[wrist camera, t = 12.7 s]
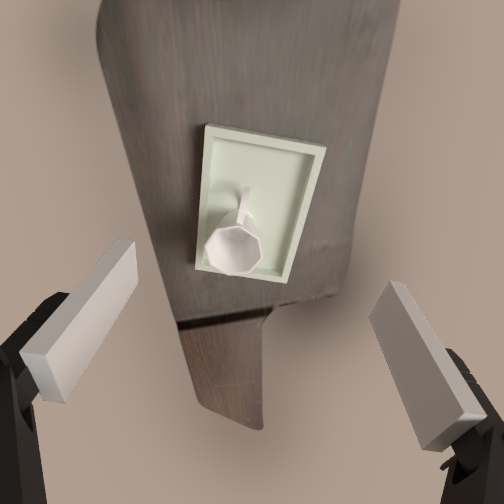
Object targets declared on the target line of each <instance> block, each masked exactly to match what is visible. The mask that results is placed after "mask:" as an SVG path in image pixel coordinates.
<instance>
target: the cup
mask: <svg viewBox="0 0 504 504" xmlns="http://www.w3.org/2000/svg"><path fill="white" fill-rule="evenodd" d="M249 192H250V187H246V186H244V188H243V193H242V197H241V202H240V207H239V209H234V210H230V211H229V212H228V214H227V215H226V216H224V218H223V219H222V221H221V222H220V223H219V225H218V226H217V228H216V229H215V231H214V232H213V234H212V235H211V236H210V238H209V239H208V241H207V242H206V243H205V245H204V248H205V251H206V254H207V258H208V261H209V264H210V265H211V266H212V267H214V268H216V269H218V270H219V271H221V272H223V273H225V274H226V275H228V276H230V275H238V274H246V273H251V271H252V270H253V269H254V268H255V267H256V266H257V264H258V263H259V262H260V261H261V260H262V259H263V255H262V250H261V244H260V239H259V235H258V231H257V228H256V224H255V222H254V220H253V217H252V214H250V213H249V212H247V211H246V208H247V203H248V198H249Z"/></svg>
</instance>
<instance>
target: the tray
mask: <svg viewBox="0 0 504 504" xmlns="http://www.w3.org/2000/svg"><path fill="white" fill-rule="evenodd" d="M325 151H326V147H325V146H324V145H323V144H321V143H316V142H311V141H305V140H300V139H294V138H289V137H284V136H278V135H273V134H267V133H262V132H257V131H251V130H246V129H240V128H235V127H230V126H224V125H219V124H214V123H208V124H207V125H205V137H204V151H203V165H202V179H201V193H200V207H199V221H198V235H197V249H196V263H195V269H197V270H204V271H210V272H217V273H223V272H221V271H219V270H218V269H216V268H214V267H212V266H211V265H210V264H209V261H208V258H207V254H206V251H205V248H204V245H205V243H206V242H207V241H208V239H209V238H210V236H211V235H212V234H213V232H214V231H215V229H216V228H217V226H218V225H219V223H220V222H221V221H222V219H223V218H224V216H226V215H227V214H228V212H229V211H230V210H234V209H239V207H240V202H241V197H242V193H243V188H244V186H246V187H250V192H249V198H248V203H247V208H246V211H247V212H249V213H250V214H252V217H253V220H254V222H255V224H256V228H257V231H258V235H259V239H260V244H261V250H262V255H263V259H262V260H261V261H260V262H259V263H258V264H257V266H256V267H255V268H254V269H253V270H252V271H251V273H246V274H238V275H236V276H242V277H249V278H255V279H261V280H268V281H274V282H281V283H287V281H288V277H289V274H290V270H291V267H292V264H293V260H294V257H295V253H296V250H297V247H298V243H299V240H300V236H301V233H302V230H303V226H304V223H305V219H306V216H307V212H308V209H309V206H310V202H311V199H312V195H313V192H314V189H315V185H316V182H317V178H318V175H319V172H320V168H321V165H322V161H323V158H324V155H325ZM223 274H225V273H223Z"/></svg>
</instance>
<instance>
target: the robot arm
mask: <svg viewBox="0 0 504 504" xmlns="http://www.w3.org/2000/svg"><path fill="white" fill-rule="evenodd" d="M137 284H138V272H137V260H136V249H135V241H134V240H129V239H122V238H119V239H118V240H117V241H116V242H115V243H114V244H113V245H112V247H111V248H110V249H109V250H108V251H107V253H105V255H104V256H103V257H102V258H101V259H100V260H99V262H98V263H97V264H96V265H95V266H94V267H93V268H92V269H91V271H90V272H89V273H88V274H87V275H86V276H85V277H84V279H83V280H82V281H81V282H80V283H79V284H78V285H77V287H76V288H75V289H74V290H73V291H72V292H71V293H70V294H69V293H63V292H58V293H56V294H54V295H52V296H51V297H49V298H47V299H46V300H44V301H43V302H42V303H41V304H40V305H39V307H38V308H37V309H36V310H35V312H33V313H32V314H31V315H30V316H29V317H28V318H27V321H24V322H23V323H22V324H21V325H20V326H19V327H18V328H17V329H16V330H15V331H14V332H13V333H12V334H11V336H10V337H9V338H8V339H7V340H6V341H5V342H4V343H3V344H2V345H1V346H0V504H47V500H46V493H45V486H44V479H43V472H42V465H41V458H40V451H39V444H38V437H37V430H36V423H35V416H34V409H33V405H32V403H31V402H32V401H33V399H34V398H35V396H36V395H37V394H38V392H39V393H40V395H41V397H42V399H43V401H50V402H58V403H66V402H67V400H68V398H69V396H70V395H71V393H72V392H73V390H74V388H75V387H76V385H77V383H78V381H79V380H80V378H81V377H82V375H83V373H84V372H85V370H86V368H87V367H88V365H89V364H90V362H91V360H92V359H93V357H94V355H95V354H96V352H97V350H98V349H99V347H100V345H101V344H102V342H103V340H104V338H105V337H106V335H107V334H108V332H109V330H110V329H111V327H112V325H113V324H114V322H115V320H116V319H117V317H118V316H119V314H120V312H121V311H122V309H123V307H124V306H125V304H126V302H127V301H128V299H129V297H130V296H131V294H132V292H133V291H134V289H135V287H136V286H137ZM369 319H370V322H371V324H372V326H373V329H374V331H375V334H376V336H377V339H378V341H379V344H380V346H381V349H382V351H383V354H384V356H385V359H386V361H387V364H388V366H389V369H390V371H391V374H392V376H393V379H394V381H395V384H396V386H397V389H398V391H399V394H400V396H401V398H402V401H403V404H404V406H405V408H406V411H407V413H408V416H409V418H410V421H411V423H412V426H413V428H414V431H415V433H416V436H417V438H418V441H419V443H420V446H421V448H422V450H428V451H436V452H443V451H444V450H445V449H446V448H448V447H449V446H450V445H451V446H452V448H453V450H454V452H455V455H454V456H453V457H451V458H450V459H449V460H447V461H446V462H445V463H443V464H442V465H441V467H440V469H441V470H442V471H443V470H445V469H446V468H447V467H449V469H448V474H447V478H446V482H445V486H444V490H443V494H442V498H441V503H440V504H504V422H503V421H502V419H501V418H500V416H499V415H498V413H497V412H496V410H495V409H494V407H493V405H492V404H491V402H490V401H489V399H488V398H487V396H486V395H485V393H484V392H483V390H482V389H481V387H480V386H479V385H478V384H477V383H476V382H477V381H476V380H475V378H474V377H473V375H472V374H470V371H469V369H468V368H467V366H466V365H465V363H464V362H463V360H462V359H460V357H459V356H458V355H457V354H456V353H454V351H452V350H451V349H447V348H444V346H443V345H442V343H441V342H440V340H439V338H438V337H437V335H436V334H435V332H434V330H433V329H432V327H431V326H430V324H429V322H428V321H427V319H426V318H425V316H424V314H423V313H422V311H421V310H420V308H419V307H418V305H417V303H416V302H415V300H414V299H413V297H412V295H411V294H410V292H409V291H408V289H407V287H406V286H405V284H404V283H402V282H396V281H389V282H388V284H387V286H386V287H385V289H384V291H383V293H382V295H381V296H380V298H379V300H378V302H377V303H376V305H375V307H374V309H373V311H372V312H371V314H370V316H369Z"/></svg>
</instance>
